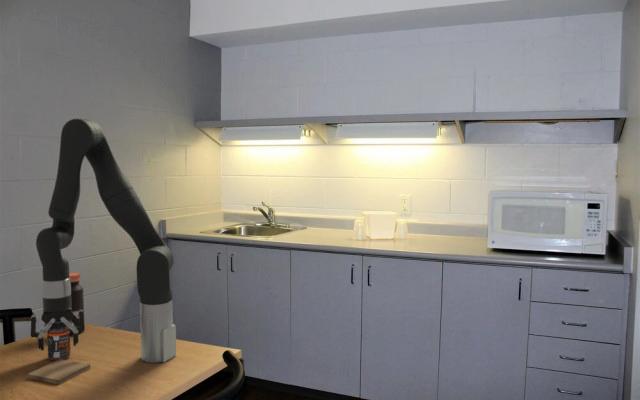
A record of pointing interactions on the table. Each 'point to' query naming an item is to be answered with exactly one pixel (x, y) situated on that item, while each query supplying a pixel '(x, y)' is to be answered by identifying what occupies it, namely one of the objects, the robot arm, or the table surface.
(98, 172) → the robot arm
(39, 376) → the tan board
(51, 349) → the supplement bottle
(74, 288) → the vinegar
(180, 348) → the table surface
